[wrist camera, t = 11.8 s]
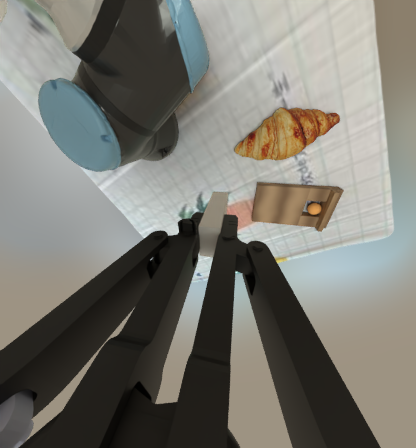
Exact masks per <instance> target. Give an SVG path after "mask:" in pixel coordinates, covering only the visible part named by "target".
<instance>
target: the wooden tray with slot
mask: <svg viewBox="0 0 416 448" xmlns="http://www.w3.org/2000/svg"><path fill="white" fill-rule="evenodd" d="M343 191H344V190H342V189H341V188H339V187H331V186H313V185H295V184H278V183H260V182H258V183H257V188H256V194H255V200H254V206H253V212H252V221H255V222H266V223H276V224H287V225H298V226H308V227H315V228H316V229H317V231H321V232H322V230H323V228H326V226H327V224H328V222H329V220H330V218H331V216H332V214H333V211H334V209H335V207H336V205H337V203H338V201H339V199H340V197H341V195H342V193H343ZM307 200H309V201H321V202H320V205H321V211H320V213H318V214H315V215H312V214H310V213H309V212H303V209H304V206H305V203H306V201H307Z"/></svg>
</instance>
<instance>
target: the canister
mask: <svg viewBox="0 0 416 448" xmlns="http://www.w3.org/2000/svg"><path fill="white" fill-rule="evenodd" d="M6 13H7V0H0V22H2V21H3V19H4V17H5V15H6Z"/></svg>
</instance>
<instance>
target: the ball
mask: <svg viewBox="0 0 416 448" xmlns="http://www.w3.org/2000/svg"><path fill="white" fill-rule="evenodd" d="M307 211H308V212H309V213H310V214H312V215H315V214H318V213H320V211H321V205H320V204H318V203H311V204H310V205H309V206H308V207H307Z"/></svg>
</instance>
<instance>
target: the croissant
mask: <svg viewBox="0 0 416 448" xmlns="http://www.w3.org/2000/svg"><path fill="white" fill-rule="evenodd" d="M339 121H340V118H339V115H338V114H337V113H330V114H325V113H324V112H322V111H320V110H315V109H313V110H309V109H306V110H302V109H300V108H294V109H290V110H287V109H285V108H279V109H278V110H276V111H275V113H274V114H273V116H272V117H269V118H267V119H266V120H264V122H263V124H262V125H261V126H260V127H259V128H258V129H257V130H255V131H254V132H252V133H250V134H249V135H248V137H247V138H246V139H245V140H244V141H242V142H240V143H239V144H238V145H237V146H236V147H235V149H234V151H235V152H236V153H237V154H239V155H242V156H243V157H244V156H245V157H250V158H254V159H256V160H264V159H272V160H273V159H274V160H283V159H286V158H289V157H291V156H294V155H296V154H297V153H299V152H301V151H302V150H303V149H304V148H305V147H306V146H308V145H309V144H311V143H313V142H314V141H315V140H316V138H317V137H318V136H321V135H324V134H326V133H327V132H328V131H329V130H330V129H331V128H332V127H333V126H334V125H336V124H337V123H339Z"/></svg>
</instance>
